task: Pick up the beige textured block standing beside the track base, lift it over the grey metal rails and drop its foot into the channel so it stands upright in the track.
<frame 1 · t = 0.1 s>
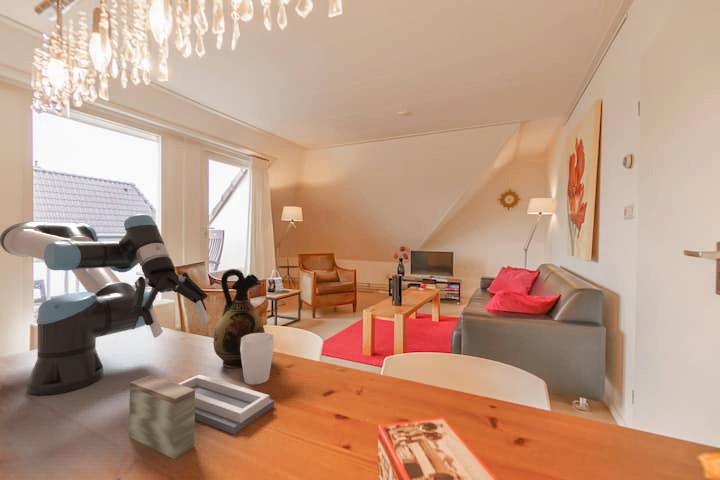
hand: (183, 328, 86), 15 cm above the table, tool tilted 35°, fingers open, 13 cm apart
cup: (256, 380, 90), on the table
beige textured block: (161, 441, 62), on the table
track base: (217, 406, 75), on the table
ceramic jug: (237, 363, 101), on the table
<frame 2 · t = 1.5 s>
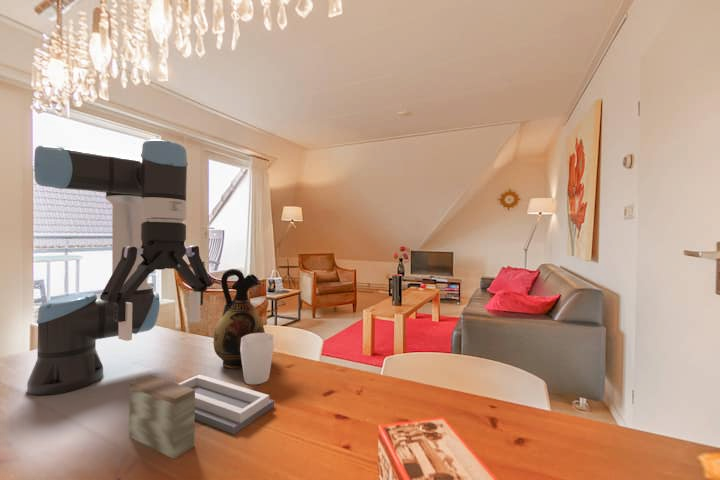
hand: (163, 329, 62), 22 cm above the table, tool pointing down, fingers open, 13 cm apart
nothing on the table moved.
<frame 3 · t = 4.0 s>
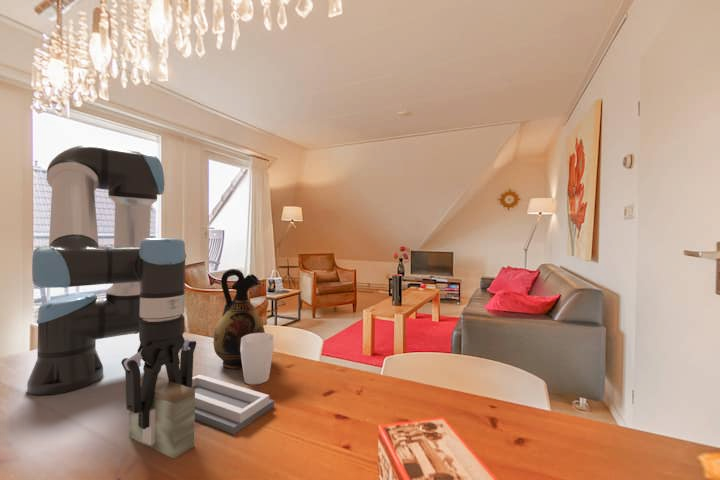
hand: (161, 435, 62), 1 cm above the table, tool pointing down, fingers closed on beige textured block, 4 cm apart
beige textured block: (161, 441, 62), on the table, touching gripper
everything else where it was.
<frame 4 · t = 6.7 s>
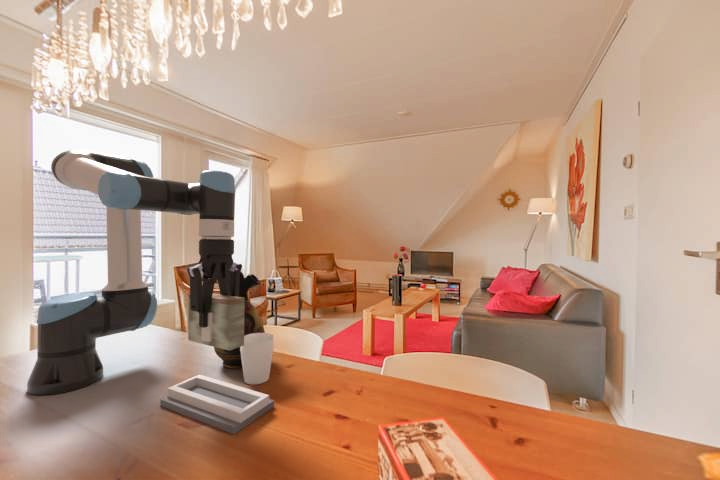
hand: (215, 337, 74), 17 cm above the table, tool pointing down, fingers closed on beige textured block, 4 cm apart
beige textured block: (215, 342, 74), point 15 cm above the table, touching gripper
everything else where it was.
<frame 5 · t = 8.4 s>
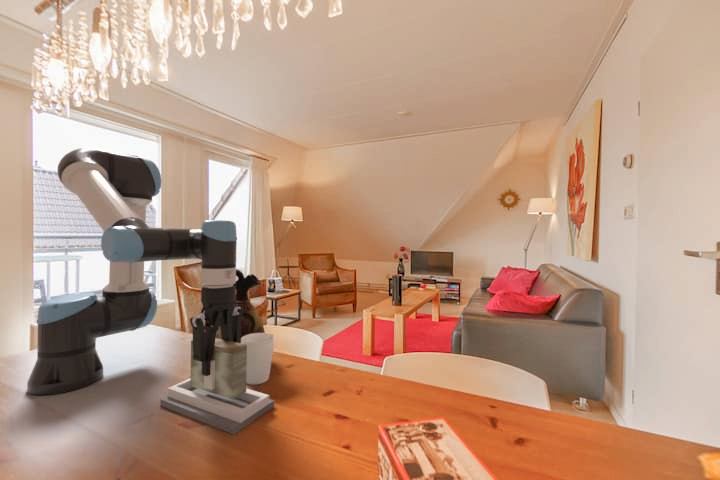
hand: (217, 383, 75), 5 cm above the table, tool pointing down, fingers closed on beige textured block, 4 cm apart
beige textured block: (217, 388, 75), point 4 cm above the table, touching gripper
everything else where it was.
when the fingers open (5 cm above the table, at t = 9.4 s): beige textured block drops 2 cm, resting on track base.
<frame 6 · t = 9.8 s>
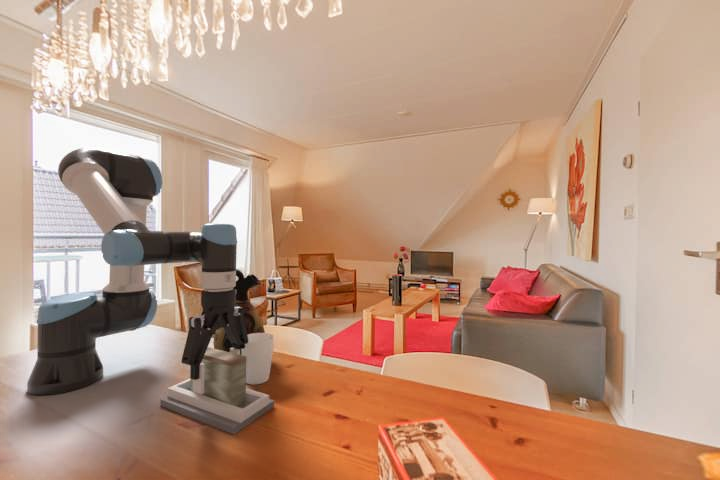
hand: (217, 382, 75), 6 cm above the table, tool pointing down, fingers open, 9 cm apart
beige textured block: (217, 400, 75), point 1 cm above the table, touching track base
everything else where it was.
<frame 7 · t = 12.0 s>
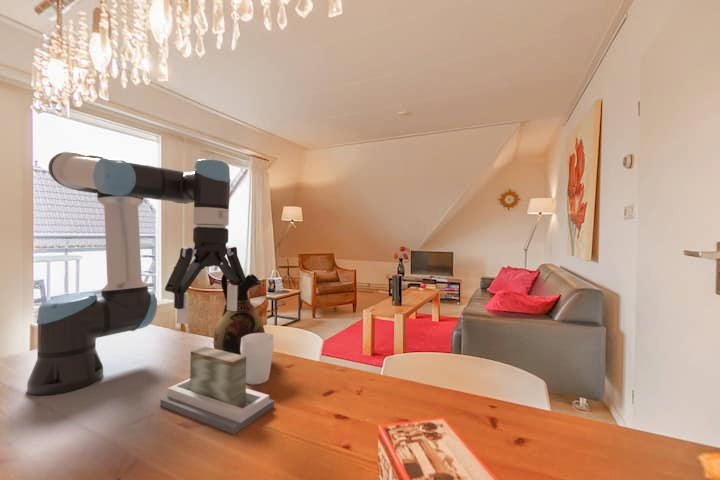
hand: (209, 316, 75), 21 cm above the table, tool pointing down, fingers open, 13 cm apart
nothing on the table moved.
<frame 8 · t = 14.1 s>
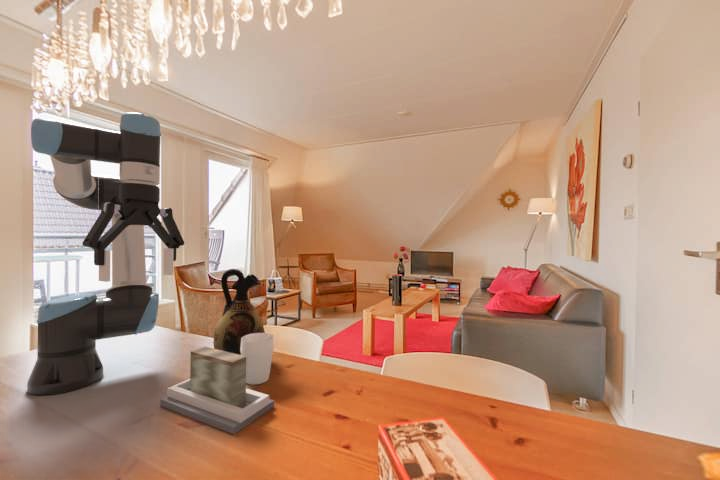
hand: (139, 277, 72), 31 cm above the table, tool pointing down, fingers open, 13 cm apart
nothing on the table moved.
at the end: beige textured block inside the target area on the track base (0.0 cm from its centre), point 1.5 cm above the track base's base; beige textured block tilted 0°; the gripper is holding nothing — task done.
